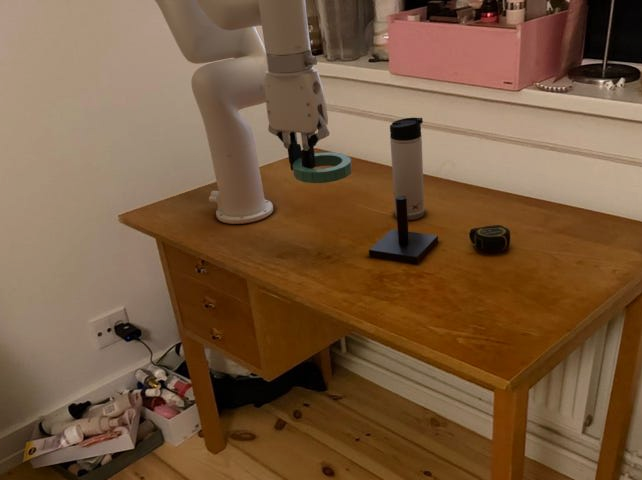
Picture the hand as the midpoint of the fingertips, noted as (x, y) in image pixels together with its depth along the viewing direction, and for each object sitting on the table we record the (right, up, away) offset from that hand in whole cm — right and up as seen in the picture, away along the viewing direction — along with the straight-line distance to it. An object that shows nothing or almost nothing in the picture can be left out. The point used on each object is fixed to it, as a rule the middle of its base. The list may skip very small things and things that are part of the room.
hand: (303, 168), depth 129 cm
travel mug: (+21, -4, +21) cm, 29 cm away
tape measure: (+35, -14, +5) cm, 38 cm away
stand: (+19, -14, +7) cm, 24 cm away
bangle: (+4, -1, -2) cm, 4 cm away
